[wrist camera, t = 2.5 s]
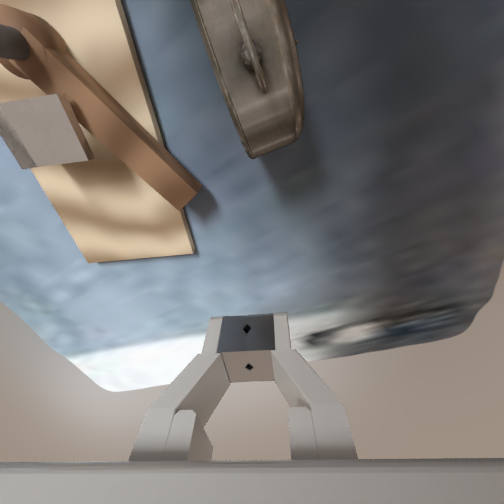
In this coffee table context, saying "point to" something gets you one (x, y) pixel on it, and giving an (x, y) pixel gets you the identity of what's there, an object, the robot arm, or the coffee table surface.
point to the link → (89, 103)
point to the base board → (105, 162)
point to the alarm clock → (255, 69)
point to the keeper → (43, 131)
